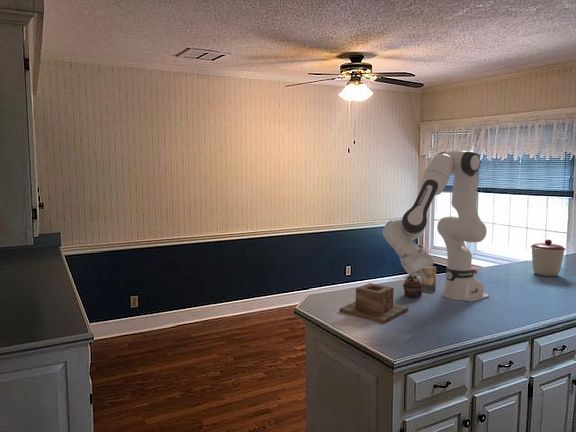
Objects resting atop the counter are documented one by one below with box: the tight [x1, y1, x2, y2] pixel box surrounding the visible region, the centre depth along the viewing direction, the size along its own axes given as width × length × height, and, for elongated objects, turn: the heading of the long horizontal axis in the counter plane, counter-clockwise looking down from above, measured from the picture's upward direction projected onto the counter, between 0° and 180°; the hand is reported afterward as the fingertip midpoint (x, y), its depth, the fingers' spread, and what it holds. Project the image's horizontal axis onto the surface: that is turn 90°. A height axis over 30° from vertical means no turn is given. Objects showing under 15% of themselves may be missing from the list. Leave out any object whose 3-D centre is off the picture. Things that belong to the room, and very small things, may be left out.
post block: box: [339, 282, 409, 324], centre depth 204 cm, size 22×22×10 cm
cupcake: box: [402, 275, 423, 299], centre depth 228 cm, size 10×10×10 cm
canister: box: [530, 239, 566, 277], centre depth 273 cm, size 18×18×21 cm
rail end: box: [420, 265, 437, 295], centre depth 198 cm, size 4×4×11 cm
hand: (430, 278), depth 197 cm, fingers closed on rail end, 4 cm apart
